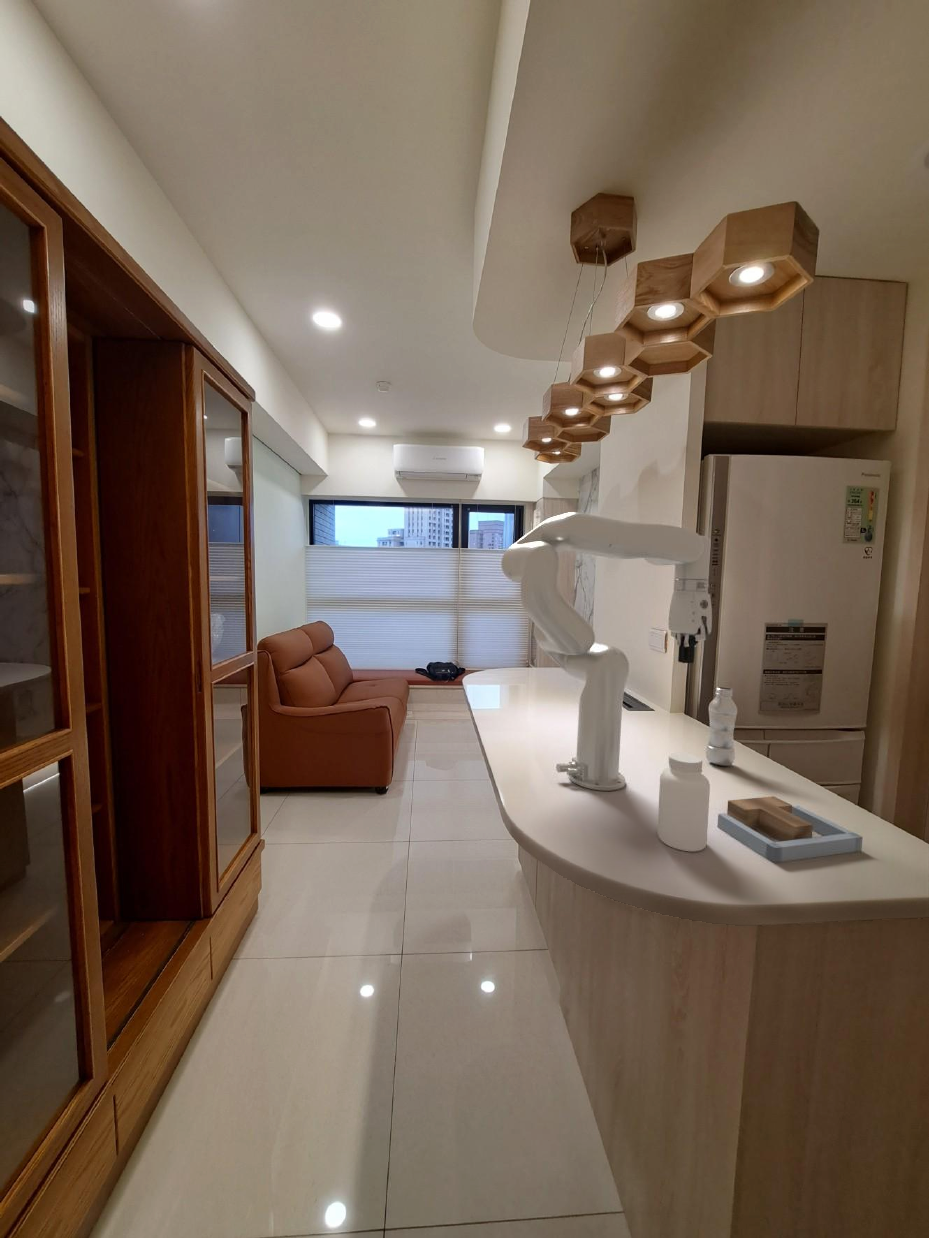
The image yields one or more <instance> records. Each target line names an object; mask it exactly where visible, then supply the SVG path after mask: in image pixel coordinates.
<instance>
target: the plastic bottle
mask: <svg viewBox="0 0 929 1238" xmlns="http://www.w3.org/2000/svg"><path fill="white" fill-rule="evenodd" d="M714 693H715V695H716V696H715V697H714V698H713V699H712V700H711V702H709V705H708V716H709V735H708V742H707V745H706V749H705V757H706V759H707V761H708V762H710V763H711V764H713V765H718V766H722V767H724V766H727V767H729V766H732V765H733V763H735V762H734V761H735V758H736V753H735V748H734V746H735V745H734V731H735V723H736V720H737V716H738V715H737V714H738V708H737V705H736V704H735V701H734V699H732V697H734V696H733V688H731V687H726V686H717V687H716V688H715V692H714Z"/></svg>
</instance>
